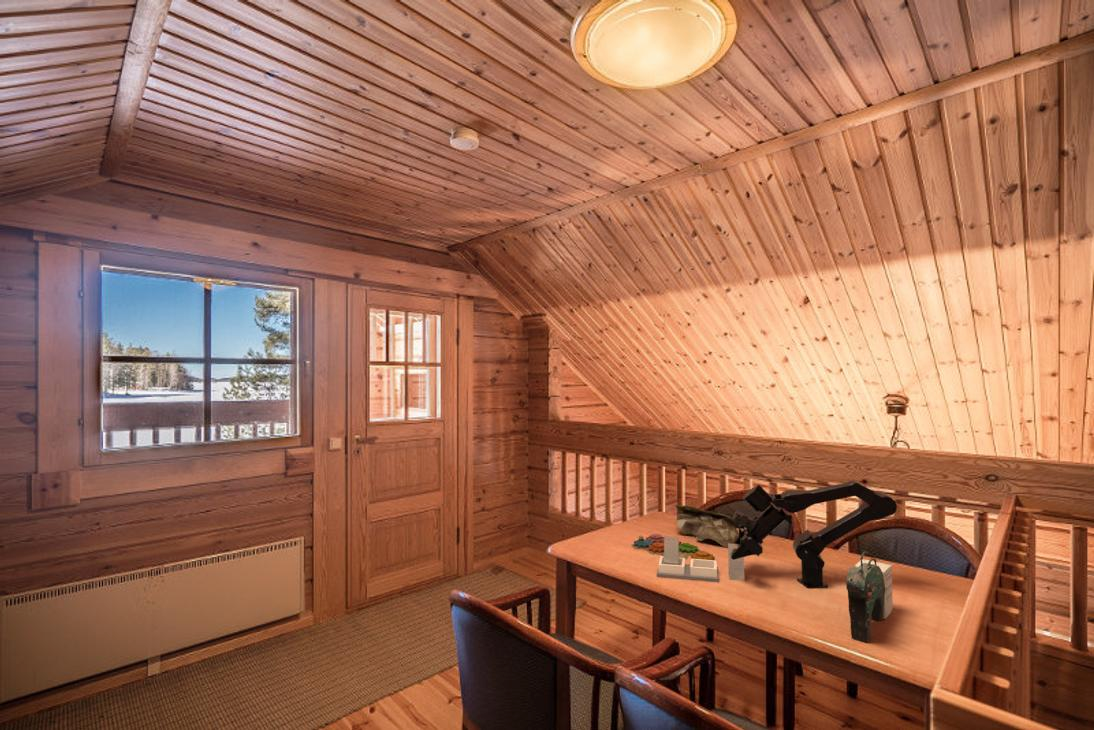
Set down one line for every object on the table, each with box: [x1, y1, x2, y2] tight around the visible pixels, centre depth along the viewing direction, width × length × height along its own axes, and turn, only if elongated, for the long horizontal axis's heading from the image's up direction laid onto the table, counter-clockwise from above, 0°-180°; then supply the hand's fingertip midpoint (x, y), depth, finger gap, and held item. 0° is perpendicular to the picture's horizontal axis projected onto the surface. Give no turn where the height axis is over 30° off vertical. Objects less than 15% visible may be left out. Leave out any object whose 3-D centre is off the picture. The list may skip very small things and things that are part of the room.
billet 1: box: [664, 535, 680, 565], centre depth 177 cm, size 4×4×10 cm
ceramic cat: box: [845, 550, 885, 644], centre depth 136 cm, size 20×6×20 cm, turn 135°
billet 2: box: [727, 543, 745, 582], centre depth 171 cm, size 4×4×10 cm
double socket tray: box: [656, 555, 720, 583], centre depth 175 cm, size 19×11×4 cm, turn 73°
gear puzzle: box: [630, 533, 716, 560], centre depth 196 cm, size 31×16×4 cm, turn 40°
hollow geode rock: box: [674, 504, 741, 549], centre depth 209 cm, size 28×13×15 cm
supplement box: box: [854, 558, 893, 620], centre depth 145 cm, size 7×7×13 cm
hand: (731, 554), depth 171 cm, fingers open, 7 cm apart
